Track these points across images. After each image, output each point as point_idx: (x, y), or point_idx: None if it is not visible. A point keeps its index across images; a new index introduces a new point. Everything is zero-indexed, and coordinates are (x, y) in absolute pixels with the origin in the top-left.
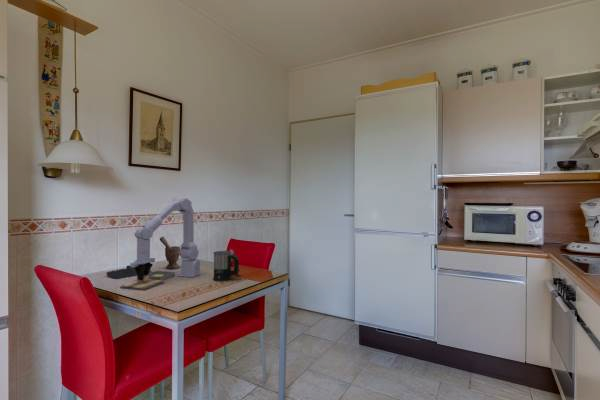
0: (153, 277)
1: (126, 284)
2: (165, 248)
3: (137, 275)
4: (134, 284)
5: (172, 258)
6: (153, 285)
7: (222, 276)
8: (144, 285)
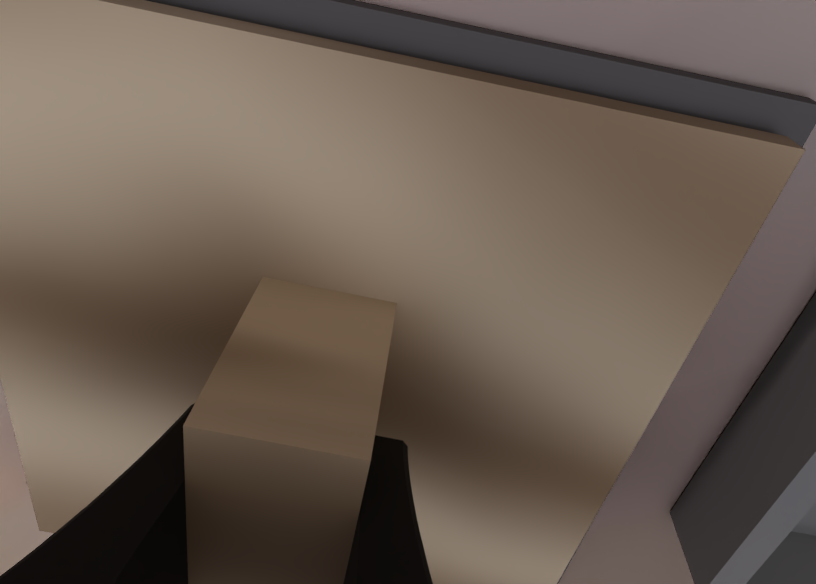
0: (787, 451)
1: (14, 98)
2: None
3: (102, 493)
4: (114, 298)
5: None
6: None
7: None
8: None
